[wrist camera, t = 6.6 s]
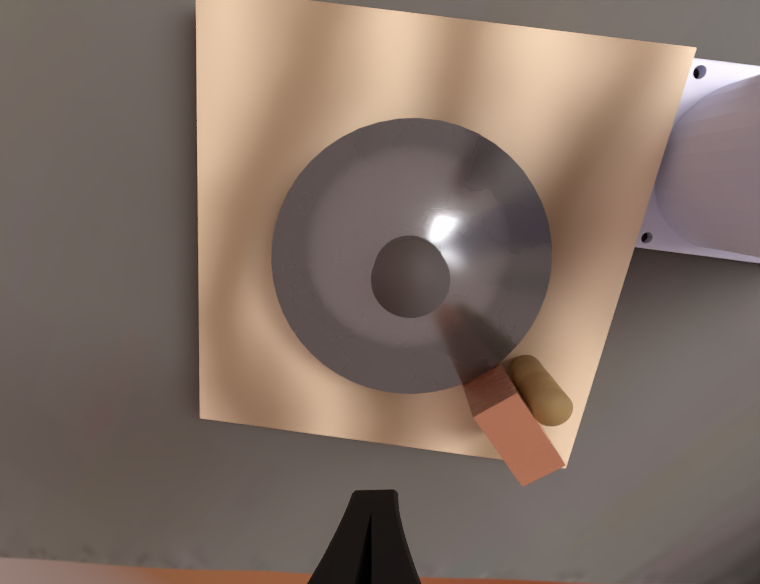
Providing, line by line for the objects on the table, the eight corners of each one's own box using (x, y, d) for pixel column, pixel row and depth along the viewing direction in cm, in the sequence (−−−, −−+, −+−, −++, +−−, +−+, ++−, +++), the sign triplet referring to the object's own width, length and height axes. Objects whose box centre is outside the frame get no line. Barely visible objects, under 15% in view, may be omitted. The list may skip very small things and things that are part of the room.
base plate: (669, 60, 16) (786, 4, 11) (554, 449, 21) (599, 525, 17) (213, 4, 16) (135, -74, 11) (213, 403, 22) (160, 464, 17)
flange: (225, 231, 17) (182, 241, 14) (450, 56, 15) (465, 17, 11) (418, 477, 20) (422, 536, 17) (629, 365, 18) (684, 406, 14)
